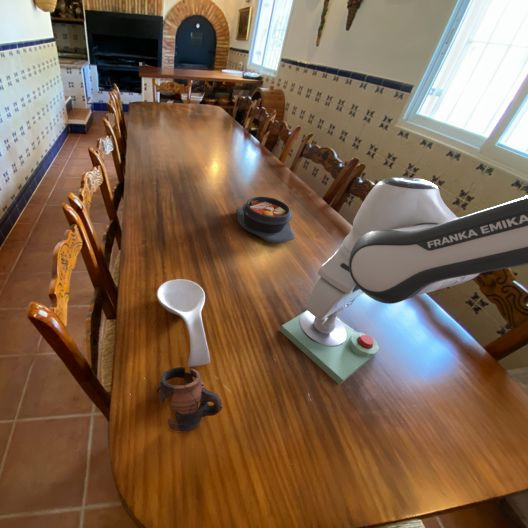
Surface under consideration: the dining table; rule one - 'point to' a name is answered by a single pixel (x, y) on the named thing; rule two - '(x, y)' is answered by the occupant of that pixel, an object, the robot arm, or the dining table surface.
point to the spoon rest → (187, 314)
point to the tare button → (365, 341)
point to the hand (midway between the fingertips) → (332, 312)
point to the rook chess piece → (328, 323)
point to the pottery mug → (188, 399)
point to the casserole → (266, 219)
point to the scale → (332, 350)
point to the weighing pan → (318, 337)
